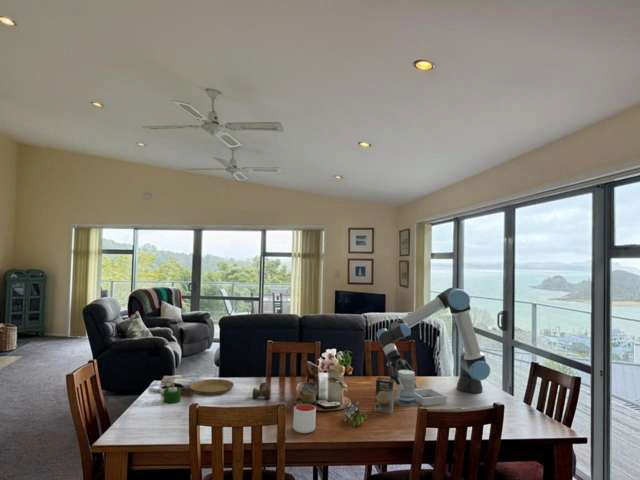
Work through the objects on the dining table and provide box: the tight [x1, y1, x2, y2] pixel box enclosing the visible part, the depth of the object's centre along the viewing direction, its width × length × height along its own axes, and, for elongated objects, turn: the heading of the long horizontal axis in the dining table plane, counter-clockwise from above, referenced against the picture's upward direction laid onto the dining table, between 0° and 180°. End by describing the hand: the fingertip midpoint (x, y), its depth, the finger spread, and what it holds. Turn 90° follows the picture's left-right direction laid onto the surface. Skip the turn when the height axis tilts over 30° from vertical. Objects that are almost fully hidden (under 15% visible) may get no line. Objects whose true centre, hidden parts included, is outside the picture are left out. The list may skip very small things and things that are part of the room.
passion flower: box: [342, 401, 368, 428], centre depth 207 cm, size 11×11×12 cm
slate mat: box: [394, 397, 421, 407], centre depth 240 cm, size 12×12×1 cm
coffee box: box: [374, 376, 396, 415], centre depth 225 cm, size 9×6×16 cm
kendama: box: [252, 382, 272, 400], centre depth 241 cm, size 6×10×20 cm
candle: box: [163, 381, 182, 405], centre depth 228 cm, size 8×8×10 cm
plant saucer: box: [190, 378, 235, 397], centre depth 248 cm, size 24×24×3 cm
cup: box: [292, 403, 317, 434], centre depth 197 cm, size 10×10×10 cm
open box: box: [413, 387, 448, 406], centre depth 244 cm, size 15×15×4 cm
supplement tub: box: [396, 369, 416, 401], centre depth 240 cm, size 10×10×15 cm
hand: (409, 388), depth 237 cm, fingers closed on supplement tub, 9 cm apart
